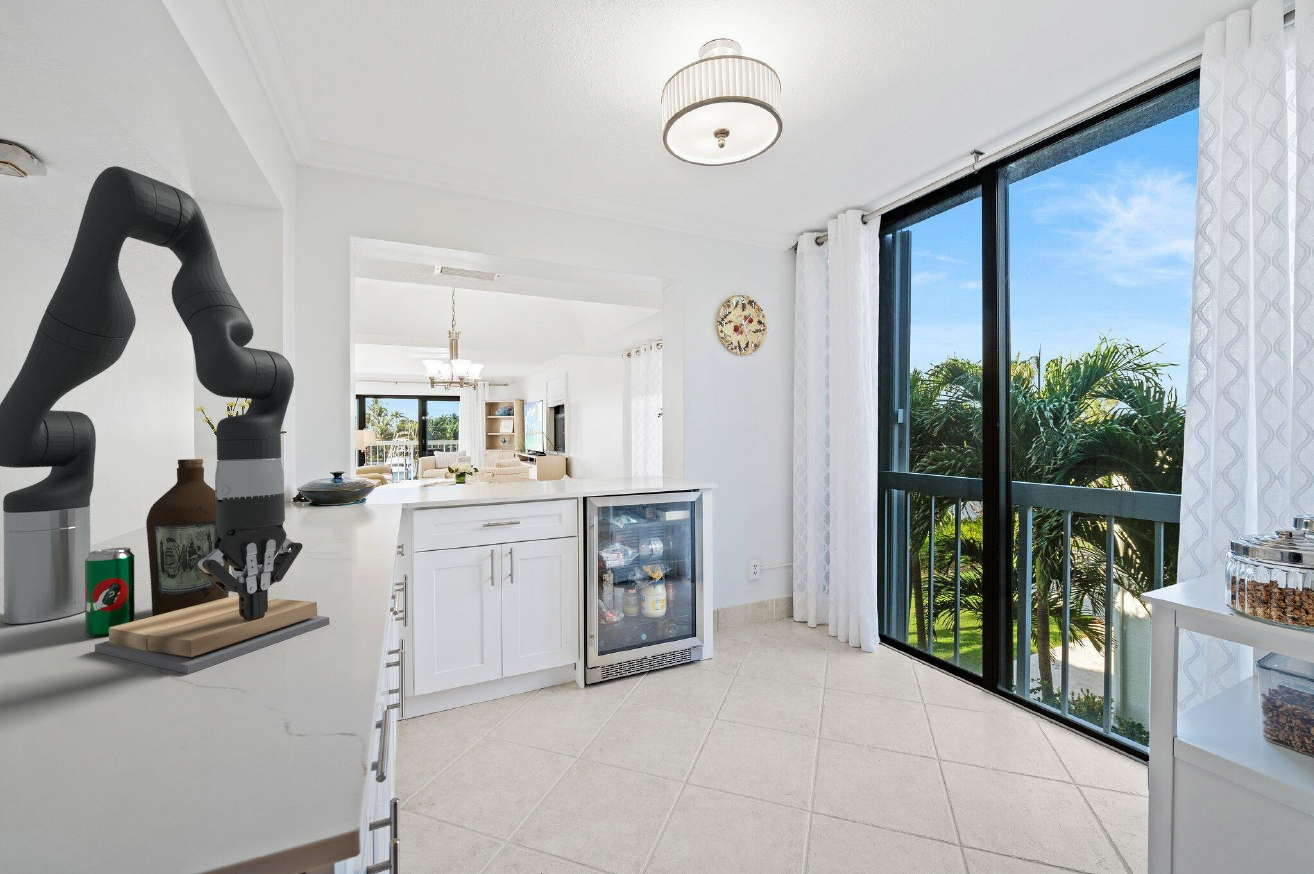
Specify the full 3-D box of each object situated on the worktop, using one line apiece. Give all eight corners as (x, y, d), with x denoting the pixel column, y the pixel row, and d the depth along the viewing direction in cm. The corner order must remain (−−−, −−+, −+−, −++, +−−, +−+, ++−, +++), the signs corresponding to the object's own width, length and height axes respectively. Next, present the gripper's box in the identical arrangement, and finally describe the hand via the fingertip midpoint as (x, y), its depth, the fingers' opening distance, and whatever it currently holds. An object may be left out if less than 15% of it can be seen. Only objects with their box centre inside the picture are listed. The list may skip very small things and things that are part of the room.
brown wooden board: (148, 650, 67) (147, 634, 67) (276, 611, 82) (276, 598, 82) (191, 657, 64) (190, 640, 64) (317, 615, 79) (316, 602, 79)
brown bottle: (155, 608, 88) (154, 459, 88) (236, 597, 94) (235, 457, 94) (138, 626, 79) (137, 461, 80) (228, 613, 85) (227, 459, 85)
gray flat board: (94, 651, 70) (94, 644, 70) (242, 610, 87) (242, 604, 87) (188, 674, 63) (188, 665, 63) (329, 623, 80) (329, 617, 80)
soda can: (144, 626, 80) (143, 546, 80) (106, 638, 75) (105, 554, 75) (114, 625, 80) (114, 546, 80) (74, 637, 75) (74, 553, 75)
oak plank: (109, 642, 70) (109, 627, 70) (240, 606, 85) (239, 594, 85) (146, 650, 67) (146, 635, 67) (275, 612, 82) (274, 599, 82)
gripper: (281, 488, 80) (284, 602, 80) (176, 497, 67) (179, 632, 67) (316, 488, 77) (319, 606, 77) (213, 497, 65) (216, 638, 65)
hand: (253, 618), depth 72 cm, fingers closed
